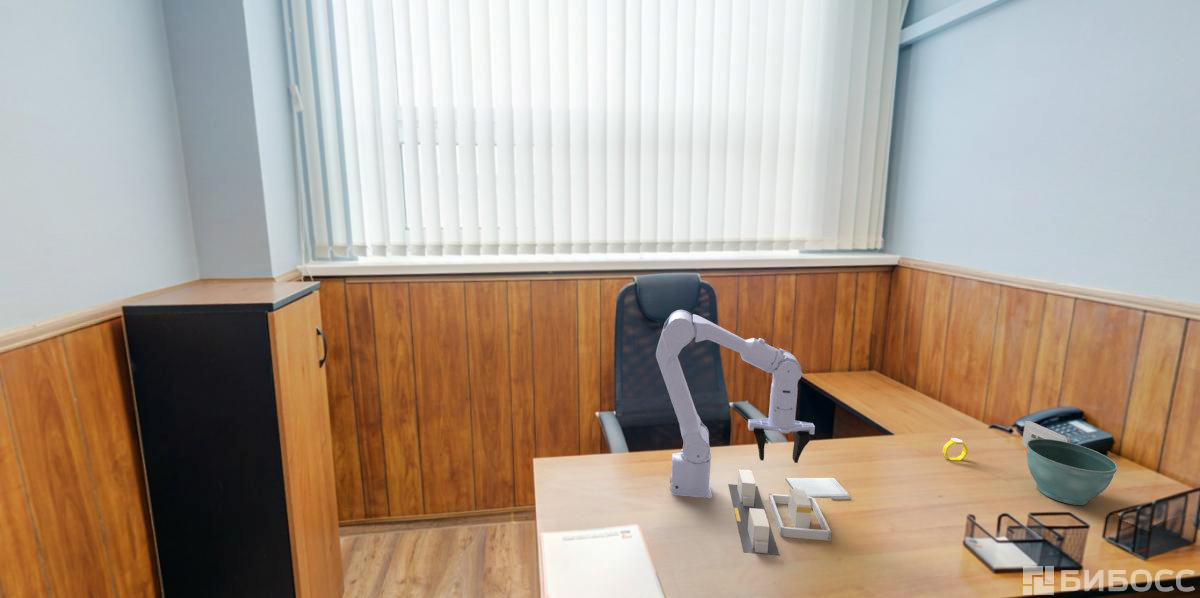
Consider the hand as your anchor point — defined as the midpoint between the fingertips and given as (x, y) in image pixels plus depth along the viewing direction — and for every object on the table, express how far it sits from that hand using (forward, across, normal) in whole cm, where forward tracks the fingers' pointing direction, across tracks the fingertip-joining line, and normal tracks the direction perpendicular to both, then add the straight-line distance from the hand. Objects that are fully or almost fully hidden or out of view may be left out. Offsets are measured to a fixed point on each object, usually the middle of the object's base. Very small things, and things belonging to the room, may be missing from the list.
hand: (778, 459), depth 122 cm
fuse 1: (+9, -7, -1) cm, 12 cm away
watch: (+10, +53, +26) cm, 60 cm away
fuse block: (+10, -7, -9) cm, 15 cm away
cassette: (+10, +80, +33) cm, 87 cm away
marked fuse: (+9, +3, -10) cm, 14 cm away
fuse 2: (+9, -7, -17) cm, 21 cm away
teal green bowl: (+10, +70, +11) cm, 72 cm away
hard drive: (+11, +11, +5) cm, 16 cm away
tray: (+10, +3, -9) cm, 14 cm away
